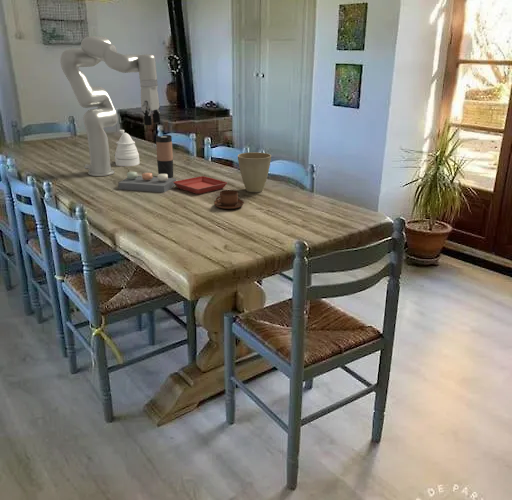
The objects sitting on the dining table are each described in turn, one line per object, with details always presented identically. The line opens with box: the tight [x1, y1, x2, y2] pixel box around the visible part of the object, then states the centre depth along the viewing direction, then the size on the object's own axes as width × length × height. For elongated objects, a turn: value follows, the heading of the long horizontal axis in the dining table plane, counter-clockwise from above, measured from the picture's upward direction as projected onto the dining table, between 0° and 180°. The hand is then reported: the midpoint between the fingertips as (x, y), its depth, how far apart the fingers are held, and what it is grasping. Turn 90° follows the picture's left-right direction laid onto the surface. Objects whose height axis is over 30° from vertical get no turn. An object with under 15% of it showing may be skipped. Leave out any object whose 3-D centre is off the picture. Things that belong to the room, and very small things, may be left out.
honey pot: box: [114, 129, 141, 167], centre depth 281 cm, size 13×13×18 cm
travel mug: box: [155, 134, 174, 178], centre depth 253 cm, size 8×8×20 cm
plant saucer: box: [173, 175, 228, 195], centre depth 237 cm, size 18×18×3 cm
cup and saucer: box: [213, 189, 245, 210], centre depth 210 cm, size 12×12×6 cm
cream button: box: [156, 174, 168, 181], centre depth 235 cm, size 5×5×2 cm
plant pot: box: [237, 151, 272, 193], centre depth 231 cm, size 15×15×16 cm
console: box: [118, 175, 177, 193], centre depth 238 cm, size 22×14×3 cm, turn 77°
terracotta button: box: [141, 172, 154, 180], centre depth 236 cm, size 5×5×2 cm
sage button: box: [126, 171, 138, 179], centre depth 238 cm, size 5×5×2 cm
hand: (152, 123), depth 235 cm, fingers open, 9 cm apart
